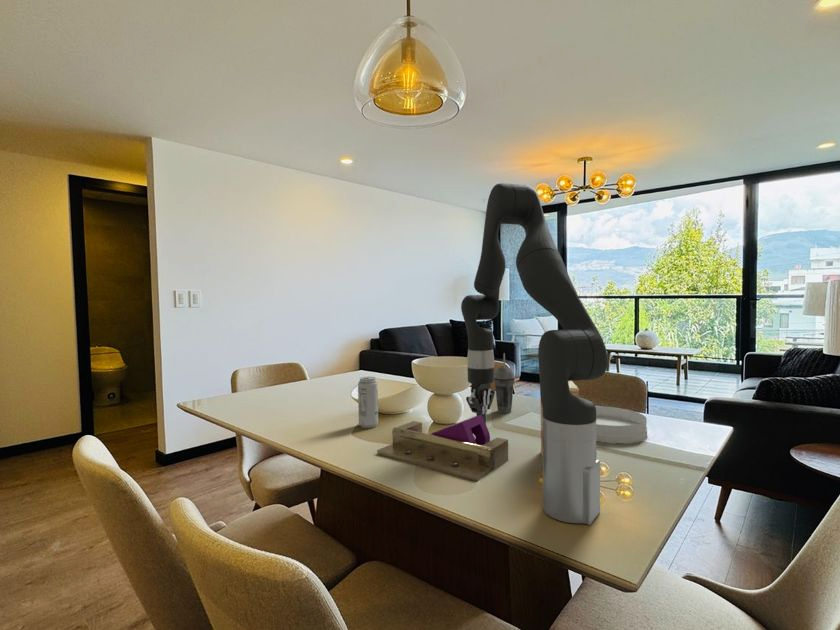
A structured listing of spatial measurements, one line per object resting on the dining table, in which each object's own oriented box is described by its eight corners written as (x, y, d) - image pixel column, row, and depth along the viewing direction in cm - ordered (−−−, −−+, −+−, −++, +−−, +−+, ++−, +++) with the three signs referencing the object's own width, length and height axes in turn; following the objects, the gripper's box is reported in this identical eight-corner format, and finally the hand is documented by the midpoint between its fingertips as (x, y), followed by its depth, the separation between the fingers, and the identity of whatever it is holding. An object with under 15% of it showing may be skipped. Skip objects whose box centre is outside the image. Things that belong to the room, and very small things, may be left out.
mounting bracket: (421, 473, 114) (475, 456, 104) (410, 442, 116) (462, 422, 106) (442, 462, 122) (494, 445, 111) (431, 433, 124) (481, 413, 113)
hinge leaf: (508, 460, 106) (508, 438, 106) (476, 481, 94) (476, 457, 94) (413, 438, 124) (413, 420, 124) (377, 454, 112) (376, 433, 112)
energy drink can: (380, 427, 136) (379, 378, 135) (361, 429, 134) (360, 380, 133) (375, 422, 141) (374, 375, 141) (356, 424, 139) (355, 377, 139)
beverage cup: (492, 413, 150) (491, 354, 149) (495, 408, 156) (494, 352, 156) (514, 414, 147) (513, 355, 147) (516, 409, 154) (515, 352, 154)
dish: (565, 440, 121) (564, 422, 121) (564, 419, 142) (564, 404, 142) (655, 447, 114) (655, 428, 114) (640, 424, 135) (640, 408, 135)
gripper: (480, 369, 117) (481, 434, 118) (503, 363, 128) (503, 422, 128) (456, 367, 122) (457, 429, 122) (480, 361, 132) (481, 419, 133)
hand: (481, 426), depth 125 cm, fingers closed
